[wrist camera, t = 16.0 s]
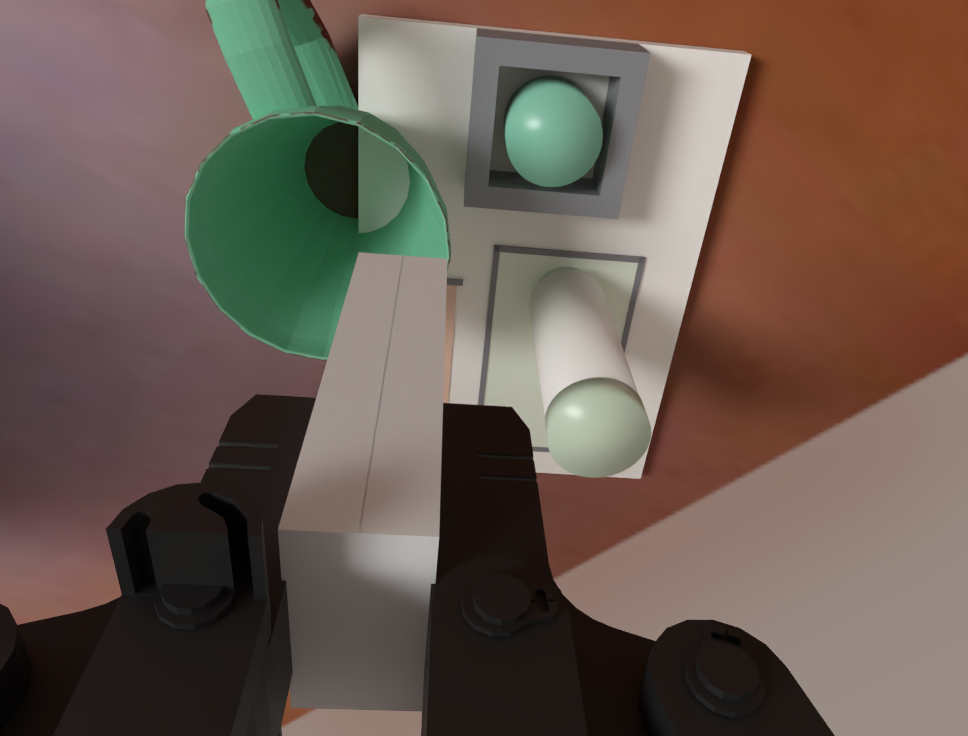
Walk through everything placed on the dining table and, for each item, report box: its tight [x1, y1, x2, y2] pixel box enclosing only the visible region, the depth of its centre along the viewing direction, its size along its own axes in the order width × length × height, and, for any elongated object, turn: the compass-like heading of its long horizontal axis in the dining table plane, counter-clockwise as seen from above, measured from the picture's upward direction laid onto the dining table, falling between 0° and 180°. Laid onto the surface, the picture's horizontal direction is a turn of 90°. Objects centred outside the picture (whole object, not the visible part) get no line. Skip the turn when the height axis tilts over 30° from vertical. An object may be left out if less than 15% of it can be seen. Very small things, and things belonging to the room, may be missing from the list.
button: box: [503, 75, 603, 187], centre depth 31 cm, size 4×4×3 cm
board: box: [358, 14, 751, 479], centre depth 37 cm, size 17×24×4 cm
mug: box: [184, 0, 451, 360], centre depth 30 cm, size 15×10×10 cm
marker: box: [529, 267, 651, 478], centre depth 33 cm, size 4×4×12 cm
